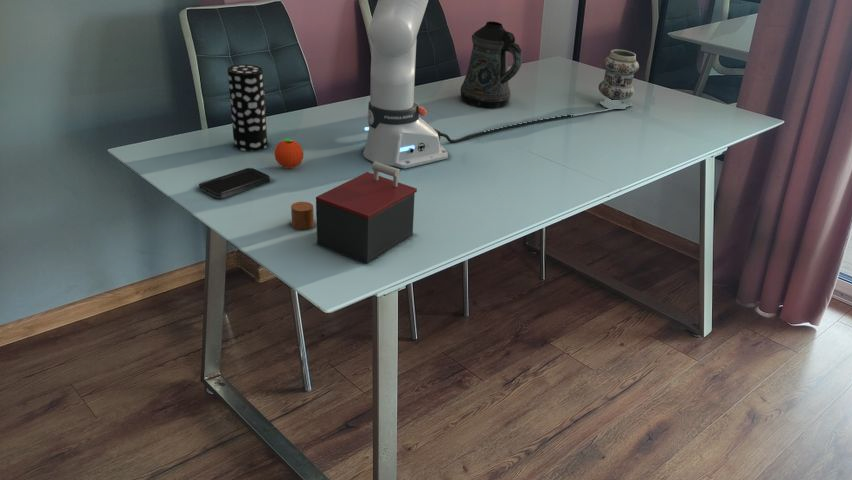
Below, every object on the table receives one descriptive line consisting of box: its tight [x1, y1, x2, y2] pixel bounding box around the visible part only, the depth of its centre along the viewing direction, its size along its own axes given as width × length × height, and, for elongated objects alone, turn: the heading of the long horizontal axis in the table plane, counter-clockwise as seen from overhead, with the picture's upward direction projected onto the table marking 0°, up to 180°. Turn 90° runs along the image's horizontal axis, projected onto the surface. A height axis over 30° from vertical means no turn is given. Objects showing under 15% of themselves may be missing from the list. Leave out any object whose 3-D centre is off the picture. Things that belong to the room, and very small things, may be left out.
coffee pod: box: [290, 201, 315, 231], centre depth 163 cm, size 5×5×4 cm
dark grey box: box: [315, 192, 416, 265], centre depth 158 cm, size 16×13×10 cm
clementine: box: [274, 138, 304, 169], centre depth 187 cm, size 8×7×7 cm
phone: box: [198, 167, 271, 200], centre depth 177 cm, size 8×1×15 cm
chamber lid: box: [315, 162, 418, 219], centre depth 155 cm, size 17×13×5 cm
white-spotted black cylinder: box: [227, 63, 268, 152], centre depth 193 cm, size 8×8×20 cm
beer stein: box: [460, 21, 523, 109], centre depth 243 cm, size 16×19×25 cm
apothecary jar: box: [598, 48, 640, 101], centre depth 254 cm, size 12×12×18 cm
